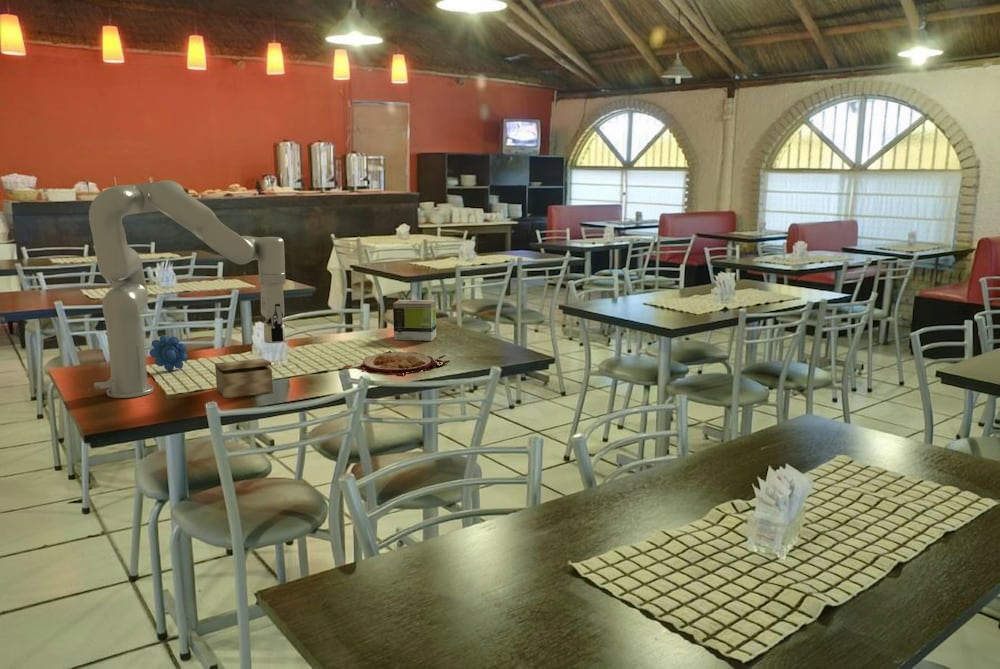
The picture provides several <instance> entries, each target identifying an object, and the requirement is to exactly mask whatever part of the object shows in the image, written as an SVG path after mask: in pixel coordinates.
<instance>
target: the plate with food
mask: <svg viewBox="0 0 1000 669" xmlns="http://www.w3.org/2000/svg"><path fill="white" fill-rule="evenodd" d="M446 356H447V355H446V354H442V355H441V356H439V357H437V358H436V359H434V358H433V357H431V356H430V355H426V354H424V353H423V354H422V353H418V352H410V351H407V352H406V351H404V352H402V351H398V352H397V351H393V352H392V351H391V350H388V351H386V352H383V353H377V354H374V355H370V356H366V357H365V358H364V359H363V361H362V365H360V366H356V367H354V366H355V364H357V362H356V363H354V366H353V364H350V365H347V364H346V365H343V366H342V367H343V368H344V369H347V370H351V368H353V367H354V369H356V370H360V371H362V372H366V373H369V374H376V373H377V372H380V374H388V373H401V374H402V373H404V375H406V374H409V375H410V373H406V372H411V373H413V372H412V371H417V372H419V370H420V371H421V370H424V371H425V369H429V370H428V371H430V370H431V368H435V367H437V366H439V365H437V363H436V362H435V361H437V362H439V364H441V363H440V362H443V364H442V366H444V365H445V364H448V363H450V359H449V360H444V361H443V360H442V359H443V358H444V357H446ZM434 360H435V361H434ZM363 364H364V365H363ZM431 365H432V366H431ZM397 375H398V374H397ZM398 376H399V375H398Z"/></svg>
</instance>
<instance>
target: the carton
mask: <svg viewBox="0 0 1000 669" xmlns="http://www.w3.org/2000/svg"><path fill="white" fill-rule="evenodd" d="M214 368H215V382H216V383H215V384H216V390H217V392H219V394H220V395H221V397H222V398H223V399H228V398H229V399H230V398H239V397H245V396H254V395H262V394H270V393H274V391H273V390H274V387H273V369H272V368H271V367H270V366H260V367H250V368H241V369H232V370H223V371H222V370H221V369H219V368H218V367H216V366H215V367H214Z"/></svg>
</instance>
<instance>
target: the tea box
mask: <svg viewBox="0 0 1000 669" xmlns="http://www.w3.org/2000/svg"><path fill="white" fill-rule="evenodd" d="M436 302H437V301H436V300H435V299H398V300H396V301H395V302H393V303H392V316H393V317H392V318H393V319H392V320H393V321H392V322H393V339H394V341H422V340H423V341H426V342H427V341H428V342H431V341H433V340H434V339H435V338H436V336H437V303H436Z"/></svg>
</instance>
